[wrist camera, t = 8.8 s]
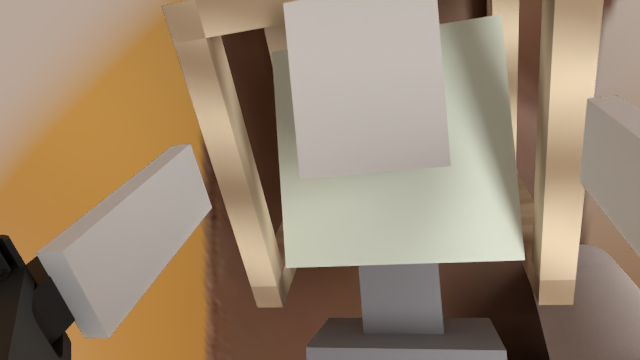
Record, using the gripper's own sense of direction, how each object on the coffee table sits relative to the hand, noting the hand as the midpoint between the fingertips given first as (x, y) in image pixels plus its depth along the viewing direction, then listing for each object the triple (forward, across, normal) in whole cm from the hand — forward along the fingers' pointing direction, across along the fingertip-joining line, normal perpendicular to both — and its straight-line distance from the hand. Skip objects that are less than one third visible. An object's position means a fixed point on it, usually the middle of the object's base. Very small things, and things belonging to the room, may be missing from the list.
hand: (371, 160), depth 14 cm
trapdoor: (+8, 0, -7) cm, 11 cm away
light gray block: (+8, 0, -1) cm, 8 cm away
